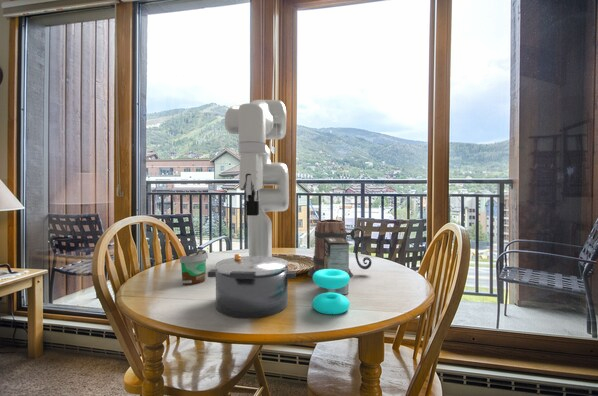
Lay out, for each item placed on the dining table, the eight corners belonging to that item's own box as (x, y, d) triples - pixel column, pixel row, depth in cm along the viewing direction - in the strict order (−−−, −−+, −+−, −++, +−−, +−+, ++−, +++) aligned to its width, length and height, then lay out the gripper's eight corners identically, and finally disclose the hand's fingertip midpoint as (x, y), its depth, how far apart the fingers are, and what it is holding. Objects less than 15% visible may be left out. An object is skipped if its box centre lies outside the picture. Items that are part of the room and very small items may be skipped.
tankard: (305, 279, 116) (306, 223, 115) (309, 267, 133) (309, 218, 132) (373, 282, 113) (374, 224, 112) (368, 269, 130) (369, 218, 129)
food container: (197, 287, 107) (197, 257, 106) (180, 286, 108) (179, 256, 108) (214, 277, 119) (214, 249, 119) (198, 276, 120) (198, 249, 120)
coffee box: (323, 285, 110) (323, 237, 109) (342, 285, 110) (343, 237, 109) (328, 294, 100) (328, 242, 100) (349, 294, 101) (349, 242, 100)
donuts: (310, 268, 94) (345, 267, 94) (310, 302, 94) (345, 301, 95) (315, 278, 84) (353, 277, 84) (314, 316, 84) (353, 315, 85)
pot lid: (227, 259, 103) (227, 250, 103) (291, 260, 102) (291, 251, 102) (201, 277, 81) (201, 266, 81) (282, 279, 80) (282, 267, 80)
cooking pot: (220, 290, 104) (220, 259, 103) (298, 292, 102) (298, 260, 102) (196, 316, 84) (196, 278, 83) (292, 319, 82) (292, 280, 82)
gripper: (245, 151, 100) (245, 211, 101) (231, 147, 85) (232, 218, 86) (270, 151, 99) (270, 212, 100) (260, 147, 84) (260, 219, 86)
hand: (252, 215), depth 93 cm, fingers closed
